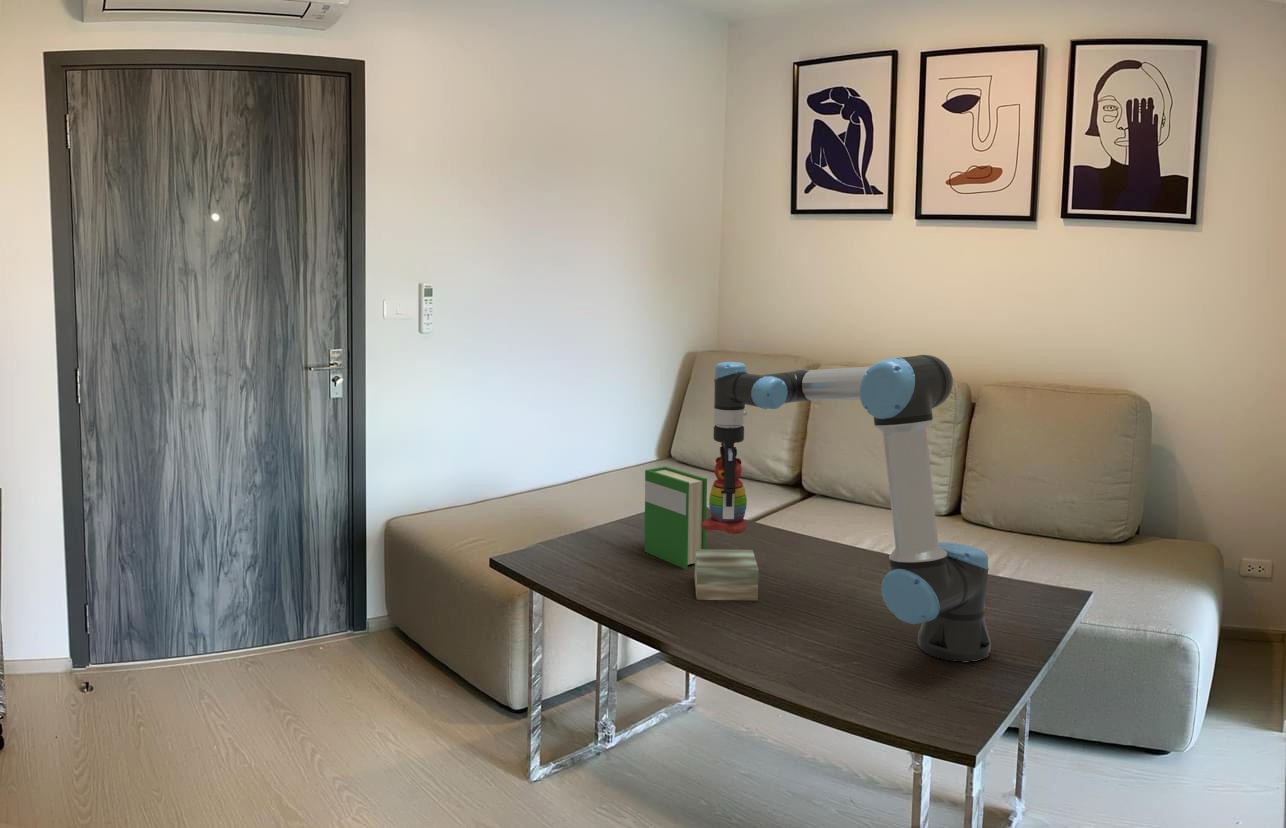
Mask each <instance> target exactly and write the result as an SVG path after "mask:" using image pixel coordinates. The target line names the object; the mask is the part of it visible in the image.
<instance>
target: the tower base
mask: <svg viewBox="0 0 1286 828" xmlns="http://www.w3.org/2000/svg"><path fill="white" fill-rule="evenodd" d="M759 573H760V571H759V566H758V563H757V560H756V556H755V553H754V550H753V549H708V548H706V549H695V563H694V586H695V587H694V588H695V597H696V600H697V601H705V600H706V601H716V600H717V601H758V600H759V599H758V598H759Z"/></svg>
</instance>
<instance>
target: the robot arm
mask: <svg viewBox="0 0 1286 828" xmlns="http://www.w3.org/2000/svg"><path fill="white" fill-rule="evenodd" d="M714 372H715V373H714V379H713V380H714V401H713V403H714V404H713V405H714V407H713V424H715V425H714V426H713V441H715V442H717V443H720V445H721V446H719V455H720V456H719V457H721V458H722V466H723V467H724V491H721V494H723V519H734V495H735V492H736V490H735V466H736V458H737V454H738V450H737V447H736V446H735V443H737V444H738V443H742V442H744V440H745V427H744V424H745V416H748V413H747V411H745V408H746V405H747V406H751V407H756V408H761V409H764V410H768V409H769V410H778V409H779V408H781V406H783V405H785V404H788V403H798V402H819V401H821V402H823V401H828V402H829V401H831V402H832V401H833V402H834V401H860V402H861V405H862V407H863V409H866V410H867V413H868V414H869V415H871V416H872V417H873V422H874V423H873V424H874V427H875V428H876V429H877V430H878V431H880V432H881V433H882V437H883V444H884V447H883V448H884V454H885V455H884V457H885V464H886V473H887V483H888V490H889V491H888V492H889V502H890V509H891V518H892V528H893V529H892V530H893V537H894V544H895V545H894V549H893V550H892V551H891V553H890V554H889V556H888V560H889V561H888V562H889V568H890V569H889V570H890V571H888V572H887V573H886V574H885V577H884V578H883V579H882V581H881V585H880V587H881V588H880V591H881V596H882V600H883V602H884V604H885V606H886V608H887V609H888V611H889V612H891V613H892V614H893V615H894V616H895V617H896V618H898V619H899V621H902V622H905V623H906V624H912V625H913V624H914V625H918V624H919V625H920V624H921V626H920V628H919V631H918V633H917V634H918V635H917V646H918V648H919V649H920V650H921V651H922V652H924V653H925V654H927V655H929V656H930V657H933V656H934V657H933V658H936V657H937V658H936V659H939V658H942V659H941V660H943V659H946V660H945V661H947V660H954V661H955V660H956V661H972V660H978V659H981V658H984V657H986V656H988V654H989V653H990V654H991V647H992V643H991V642H992V641H991V639H990V634H989V630H988V628H987V623H986V621H985V612H986V611H985V609H986V602H987V600H986V598H987V588H988V576H989V570H990V568H989V556H988V554H987V553H986V552H985V551H983V550H982V549H980V548H978V547H975V546H971V545H967V544H963V543H962V544H961V543H956V542H955V543H954V542H946V541H945V542H939V536H938V529H937V519H936V517H937V516H936V508H935V501H934V491H933V483H932V473H931V463H930V462H931V461H930V453H929V446H928V445H929V444H928V437H927V428H928V427H929V426H930V425H931V424H932V422H933V420H934V419H933V418H934V417H933V410H932V409H934V408H938V407H939V406H941V405H942V404H943V403H945V402H946V401H947V399H948V398H949V396H950V395H951V394H952V393H951V392H952V390H953V386H954V379H953V373H952V370H951V369H950V368H949V366H948V365H947V364H946V363H945V361H944V360H942V359H941V358H939V357H936V356H934V355H930V354H929V355H927V354H918V355H912V356H904V357H903V356H900V357H891V358H887V359H883V360H880V361H878V362H875V363H874V364H872V365H870V366H861V367H859V366H858V367H856V366H855V367H842V368H826V369H825V368H823V369H811V370H810V369H797V370H792V371H787V372H786V371H785V372H776V373H767V374H754V373H748V372H747V366H746V364H744V363H743V362H738V361H725V362H724V361H723V362H718V363H717V364H716V366H715V371H714ZM728 487H732V488H728Z"/></svg>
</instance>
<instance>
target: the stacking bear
mask: <svg viewBox="0 0 1286 828" xmlns="http://www.w3.org/2000/svg"><path fill="white" fill-rule="evenodd" d="M715 463H716V464H715V465H714V475H715V477H716V479H715V480H714V481H713V484H712V485H711V489H710V493H709V498H708V505H709V509H710V515H711V516H710V517H708V518H706V520H705V521H704V522H703V523H702V528H703V529H705V530H706V531H719V532H724V533H727V534H732V535H740V534H742V533H744V532H745V531H746V528H747V524H746V520H745V516H746V515H745V514H746V510H747V505H748V504H747V502H748V501H747V500H748V499H747V494H746V489H745V485H744V483H743V481H741V479H740V477H741V475H742V460H741V459H740V458H738V457H736V466H735V490H736V492H735V495H734V519H723V494H721V491H724V467H723V466H722V458H721V457H720V456H718V457H716V458H715ZM728 488H732V487H728Z"/></svg>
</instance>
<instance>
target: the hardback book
mask: <svg viewBox="0 0 1286 828" xmlns="http://www.w3.org/2000/svg"><path fill="white" fill-rule="evenodd" d="M644 477H645V478H644V482H645V483H644V553H645V552H647V553H646V554H648V553H649V554H648V555H650V554H651V555H650V556H653V555H654V556H653V557H655V556H656V557H655V558H657V557H658V559H659V560H662V559H663V560H662V561H666V562H667V563H669V562H670V564H672V565H674V566H678V567H680V568H681V569H684V570H685V569H688V565H691V564H692V565H693V564H695V549H707V545H706V544H707V530H705V529H703V528H702V523H703V522H704V521H705V520H706V519H707V505H708V504H707V502H708V501H707V500H708V495H707V494H708V478H707V477H703V476H700V475H696V474H692V473H689V472H686V471H682V470H679V469H675V468H672V467H669V466H660V467H656V468H649V469H645V472H644Z"/></svg>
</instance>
